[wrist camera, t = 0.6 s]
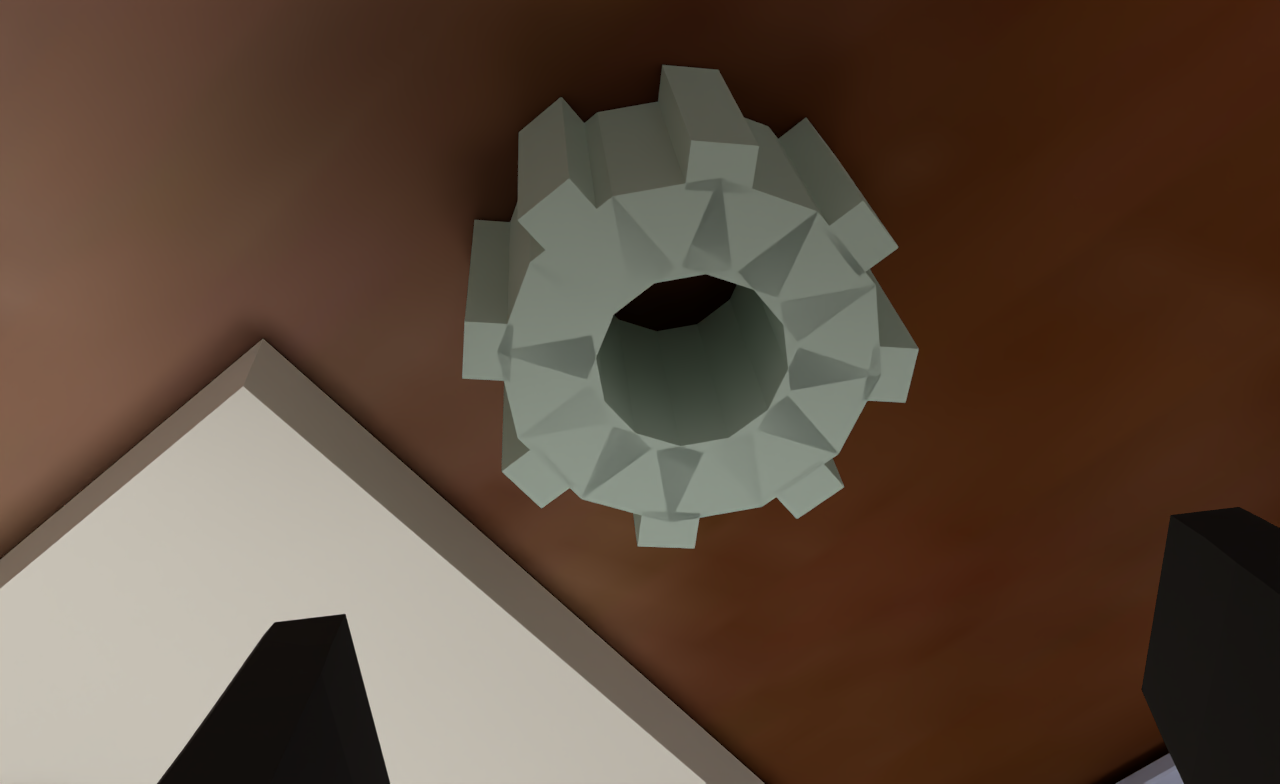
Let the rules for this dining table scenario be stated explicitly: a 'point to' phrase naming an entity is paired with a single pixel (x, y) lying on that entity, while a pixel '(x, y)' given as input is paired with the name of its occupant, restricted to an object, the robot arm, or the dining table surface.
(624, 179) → the sage gear
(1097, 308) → the dining table surface
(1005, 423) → the dining table surface
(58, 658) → the gear board
